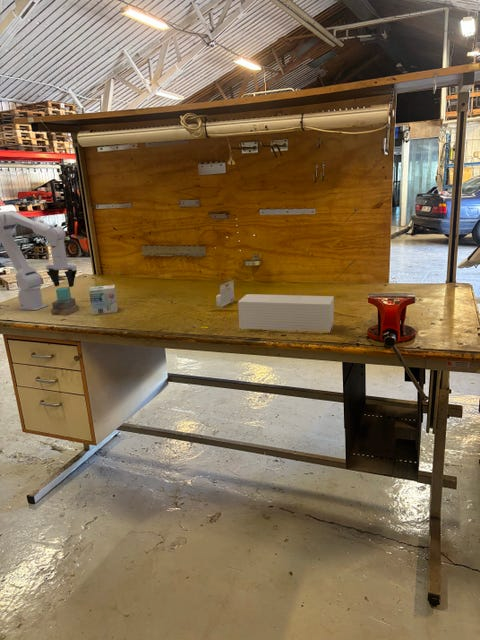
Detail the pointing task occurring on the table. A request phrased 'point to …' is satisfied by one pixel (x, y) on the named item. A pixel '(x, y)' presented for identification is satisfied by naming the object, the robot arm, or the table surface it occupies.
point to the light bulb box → (103, 299)
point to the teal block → (63, 294)
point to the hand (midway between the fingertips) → (64, 286)
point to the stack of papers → (286, 312)
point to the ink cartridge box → (225, 294)
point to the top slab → (63, 304)
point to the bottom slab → (65, 311)
